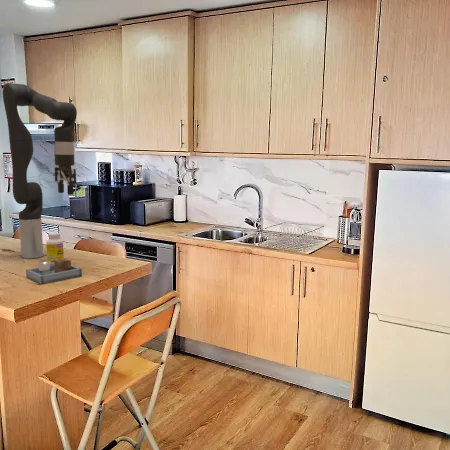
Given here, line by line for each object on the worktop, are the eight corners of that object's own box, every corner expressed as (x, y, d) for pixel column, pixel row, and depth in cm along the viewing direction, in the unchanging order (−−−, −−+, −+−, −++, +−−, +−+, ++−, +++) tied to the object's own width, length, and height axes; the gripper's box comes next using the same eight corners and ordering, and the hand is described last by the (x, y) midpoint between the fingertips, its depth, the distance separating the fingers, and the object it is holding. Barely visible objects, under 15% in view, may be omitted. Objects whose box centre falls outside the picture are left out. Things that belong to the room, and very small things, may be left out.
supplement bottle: (58, 265, 199) (57, 235, 197) (44, 264, 200) (42, 234, 198) (66, 261, 205) (65, 232, 203) (52, 260, 207) (51, 231, 205)
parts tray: (26, 277, 181) (26, 269, 180) (66, 269, 192) (65, 262, 192) (41, 284, 172) (40, 276, 171) (81, 276, 183) (81, 268, 182)
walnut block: (65, 270, 187) (65, 258, 186) (71, 272, 184) (70, 260, 183) (54, 272, 184) (54, 260, 183) (60, 274, 181) (59, 262, 180)
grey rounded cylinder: (37, 275, 179) (36, 261, 178) (48, 273, 182) (47, 259, 181) (42, 278, 176) (41, 263, 175) (53, 276, 179) (52, 261, 178)
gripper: (81, 154, 188) (82, 194, 191) (65, 152, 198) (66, 191, 201) (63, 154, 183) (64, 196, 186) (47, 152, 193) (49, 192, 196)
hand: (65, 193), depth 193 cm, fingers open, 8 cm apart
